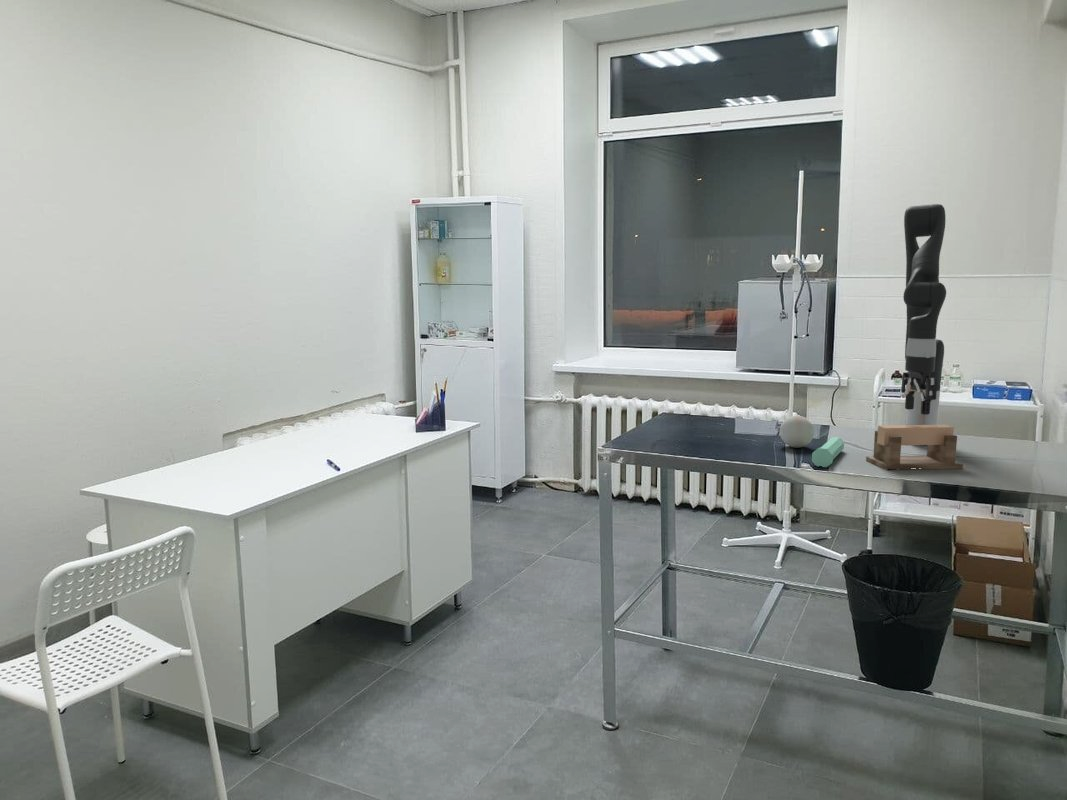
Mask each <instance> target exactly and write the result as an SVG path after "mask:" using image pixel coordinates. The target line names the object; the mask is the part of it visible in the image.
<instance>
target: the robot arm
mask: <svg viewBox="0 0 1067 800" xmlns="http://www.w3.org/2000/svg"><path fill="white" fill-rule="evenodd" d="M904 211H905V212H904V217H903V224H904V225H903V226H904V227H903V228H904V242H905V255H906V256H905V257H906V263H905V264H906V266H905V268H906V270H905V289H904V292H903V296H902V297H903V302H904V304H905V306H906V330H905V331H906V333H905V346H904V348H905V349H904V359H905V366H904V368H905V371H906V372H902V378H901V379H902V380H901V389H900V390H901V391H900V392H901V393H902V394H904V397H905V401H904V409H905V410H906V412H905V419H904V425H939V411H940V410H939V409H940V399H941V398H940V397H941V396H940V395H941V383H942V382H941V381H942V375H943V374H942V373H943V364H944V356H945V345H944V342H943V340H941V339H937V327H938V319H939V316H940V314H941V309H942V307H943V306H944V302H945V300H946V296H947V289H946V286H945V285H944V284H943V283H942V282H940V280H939V278H940V255H941V250H942V246H943V241H944V235H945V229H946V211H945V207H944V206H943V205H942V204H937V203H934V204H933V203H931V204H919V205H911V206H908V207H907V208H905V210H904ZM923 237H929V238H928V239H927V240H926V241H925V242H924V243H923V244H922V245H921V246H919V243H918V241H917V238H923Z"/></svg>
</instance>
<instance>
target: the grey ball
mask: <svg viewBox="0 0 1067 800" xmlns="http://www.w3.org/2000/svg"><path fill="white" fill-rule="evenodd" d="M779 435H780V438H781V440H782V441H783V442H784V443H785V444H786V446H788V447H791V448H795V449H797V448H803V447H806V446H807V445H809V444H810V442H811V441H813V438H814V435H815V429H814V426H813V424H812V422H811V421H810V420H809V419H808V418H807V417H805V416H801V415H791V416H789V417H787V418H786V419H785V420H784V421H782V423H781V425H780V427H779Z"/></svg>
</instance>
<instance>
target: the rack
mask: <svg viewBox="0 0 1067 800" xmlns="http://www.w3.org/2000/svg"><path fill="white" fill-rule="evenodd" d="M877 435H878V430H874V443H873V455H871V456H870V455H869V456H866V457H865V461H867V462H869V463H870V464H872V465H875V466H877V467H879V468H880V469H881V468H882V469H883V470H885V469H886V471H889V470H888V469H891V470H890V471H893V470H892V469H911V468H916V470H952V469H953V470H956V469H959V470H960V469H963V468H964V463H960V462H959V461H956V457H957V443H958V436H957V435H956V434H953V435H944V445H926V446H927V449H926V455H925V454H923V455H922V454H921V455H920V454H919V455H901V454H902V453H901V451H902V445H901V439H902V437H900V436H889V444H888V446H883V445H881V444H878V443H877ZM919 468H921V469H919Z"/></svg>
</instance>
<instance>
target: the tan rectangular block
mask: <svg viewBox="0 0 1067 800" xmlns="http://www.w3.org/2000/svg"><path fill="white" fill-rule="evenodd" d="M954 430H955V427H954V426H951V425H948V424H938V425H905V424H901V425H900V424H899V425H898V424H896V425H895V424H894V425H889V424H888V425H886V424H885V425H878V426H877V431H878V435H877V443H878V444H881V445H883V446H888V444H889V436H900V437H902V439H901V446H928V445H944V435H954Z"/></svg>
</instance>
